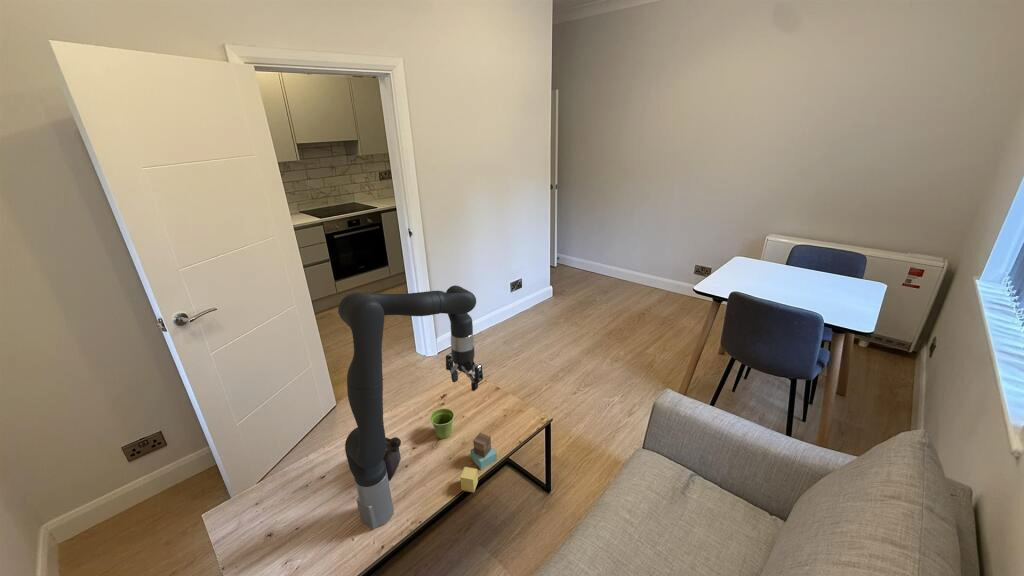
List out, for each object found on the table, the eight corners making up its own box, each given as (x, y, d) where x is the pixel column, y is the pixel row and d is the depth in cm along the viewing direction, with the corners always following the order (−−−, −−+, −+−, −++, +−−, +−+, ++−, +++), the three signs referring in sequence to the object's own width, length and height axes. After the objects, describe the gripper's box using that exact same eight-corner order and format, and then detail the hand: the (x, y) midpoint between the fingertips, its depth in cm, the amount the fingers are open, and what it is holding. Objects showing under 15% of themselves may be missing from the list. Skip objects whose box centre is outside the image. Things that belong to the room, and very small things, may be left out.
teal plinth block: (481, 470, 147) (480, 462, 145) (470, 458, 152) (470, 450, 151) (497, 460, 151) (496, 452, 149) (486, 449, 156) (486, 441, 154)
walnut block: (484, 457, 147) (483, 444, 145) (474, 453, 149) (473, 440, 147) (491, 449, 151) (490, 436, 148) (480, 445, 153) (480, 432, 150)
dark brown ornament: (361, 479, 143) (352, 440, 136) (374, 455, 153) (367, 417, 146) (404, 484, 142) (397, 444, 134) (414, 459, 152) (409, 421, 144)
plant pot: (453, 442, 159) (452, 424, 155) (429, 442, 159) (427, 424, 156) (457, 425, 168) (455, 408, 164) (434, 425, 168) (432, 408, 164)
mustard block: (473, 492, 138) (473, 479, 136) (461, 490, 139) (460, 477, 137) (477, 481, 142) (477, 469, 140) (465, 479, 143) (464, 466, 141)
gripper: (438, 343, 135) (441, 384, 141) (472, 356, 128) (474, 398, 134) (453, 334, 141) (456, 373, 147) (486, 346, 133) (488, 387, 140)
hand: (464, 385), depth 141 cm, fingers open, 8 cm apart
